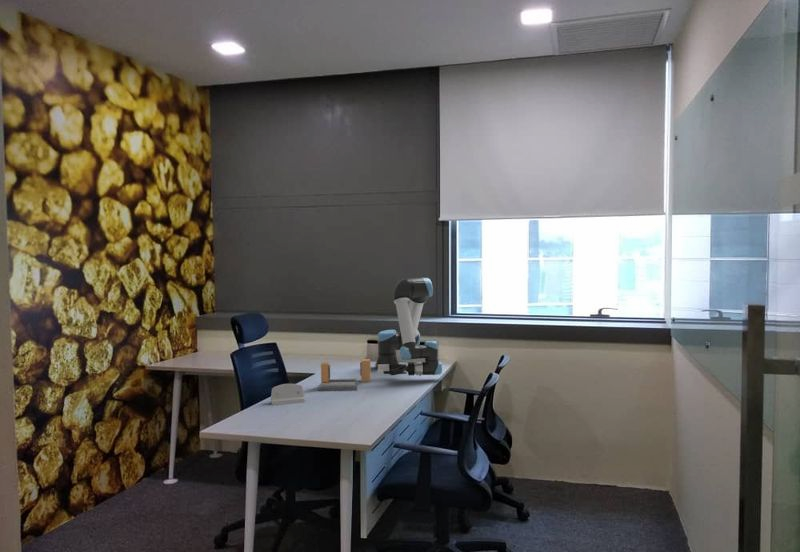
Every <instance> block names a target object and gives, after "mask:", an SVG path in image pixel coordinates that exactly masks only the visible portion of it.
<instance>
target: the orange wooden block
mask: <svg viewBox="0 0 800 552" xmlns="http://www.w3.org/2000/svg"><path fill="white" fill-rule="evenodd" d="M359 366H360V367H359V368H360V370H359V371H360V376H361V377H360V379H361V380H360V381H361V382H362V383H363V382H364V383H365V382H366V383H367V382H369V383H370V382H371V379H372V377H371V358H362V359H360V362H359Z"/></svg>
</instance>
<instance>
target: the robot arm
mask: <svg viewBox="0 0 800 552" xmlns="http://www.w3.org/2000/svg"><path fill="white" fill-rule="evenodd" d="M433 294H434V288H433V283H432V281H431V279H430V278H429V277H410V278H408V277H407V278H402V279H400V280H399V281H398V282H397V283H396V285H395V286H394V289H393V294H392V298H393V299H392V300H393V304H395V307H396V313H397V319H398V325H399V329H400V331H396V329H386V330H382V331H380V332H378V334H377V358H376V361H375V365H374V366H375V369H377V376H379V375H380V376H381V375H387V376H389V375H390V376H397V375H406V374H407V375H408V376H415V375H416V376H419V377H421V376H437V375H439V376H440V375H442V373H443V364H442V361H439V345H438V342H437V341H436V340H426V341H425V342H424V344H422V345H420V343H421V333H420V332H419V330H418V328H419V324H420V319H421V315H422V312H423V307H424V304H426V302H427V301H428V298H431V297H433ZM397 351H399V356H400V358H401V360H403V361H407V360H408V361H407V364H406V363H401V364H400V361H399V359H398V357H397ZM418 359H419V360H421V359H424V361H412V360H418ZM410 360H411V361H410ZM409 361H410V362H409Z"/></svg>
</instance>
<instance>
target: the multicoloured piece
mask: <svg viewBox="0 0 800 552" xmlns="http://www.w3.org/2000/svg"><path fill="white" fill-rule="evenodd" d="M320 379H321V382H320V385H319V386H318V392H321V391H322V392H324V391H329V392H331V391H332V392H333V391H335V392H336V390H338V391H358V387H359V380H357V378H331V364H330V362H329V361H323V362H322V361H321V363H320Z"/></svg>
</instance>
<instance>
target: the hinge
mask: <svg viewBox="0 0 800 552" xmlns="http://www.w3.org/2000/svg"><path fill="white" fill-rule="evenodd" d="M305 402H306V401H305V393H304V389H303V386H302V385H301V384H298V383H283V384H282V383H281V384H279V385H276V386H274V387H272V388H271V394H270V403H271V406H276V405H277V406H279V405H289V404H302V403H305Z"/></svg>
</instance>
